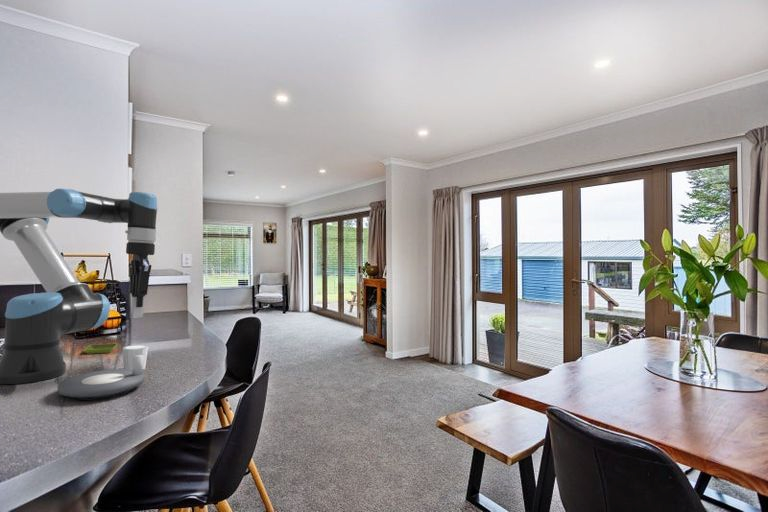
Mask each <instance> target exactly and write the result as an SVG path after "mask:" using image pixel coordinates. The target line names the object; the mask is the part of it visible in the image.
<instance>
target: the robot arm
mask: <svg viewBox="0 0 768 512" xmlns="http://www.w3.org/2000/svg"><path fill="white" fill-rule="evenodd" d="M157 213H158V198H157V196H156V195H155V194H154V193H153V194H152V193H147V192H142V191H140V192H139V191H132V192H130V193H129V194H128V198H127V199H125V198H114V197H113V198H112V197H107V196H102V195H98V194H93V193H92V194H91V193H87V192H82V191H78V190H74V189H70V188H68V189H67V188H56V189H54V190H52V191H35V192H34V191H32V192H31V191H26V192H25V191H24V192H23V191H22V192H18V191H17V192H0V233H1V235H2V236H3V238H5V240H8V241H13V242H14V244H15V245H16V247H17V248H18V250H19V251H20V253H21V255H22V256H23V258H24V260H25V261H26V262H27V264H28V266H29V267H30V269H31V270H32V272H33V273H34V275H35V276H36V278H37V279H38V281H39V282H40V284H41V286H42V287H43V289H44V290H45V292H39V293H38V292H36V293H35V292H34V293H27V294H23V295H22V294H21V295H18V296H15V297H12V298H10V300H8V302H7V304H6V309H5V313H4V317H5V322H4V323H5V327H4V342H3V343H4V345H3V352H2V354H1V357H0V384H1V385H16V384H18V385H19V384H28V383H34V382H35V383H36V382H40V381H45V380H50V379H53V378H57V377H60V376H62V375H64V374H65V373H66V371H67V363H66V362H65V361H64V357H63V354H62V351H61V347H60V342H61V339H60V338H61V336H62V335H65V334H66V335H67V334H72V333H77V332H83V331H90V330H93V329H96V328H99V327H101V326H102V325H103V324H104V323H106V321H107V320H108V318H109V316H110V311H111V306H110V305H111V303H110V301H109V299H108V297H107V296H106V295H105V294H102V293H99V292H95V293H94V292H93V290H92V289H91V287H90V285H88V284H87V283H84V282H81V281H79V279H78V278H77V276H76V275H75V273H74V271H72V269H71V267H70V266H69V264H68V262H67V261H66V259H65V258H64V256H63V255H62V254H61V252H60V250H59V249H58V247H57V246H56V244H55V243H54V241H53V240H52V239H51V237H50V235H49V234H48V232H47V231H46V230H47V229H48V225H49V221H50V218H51V219H52V218H53V219H54V218H56V219H59V218H60V219H61V218H62V219H66V218H67V219H69V218H70V219H84V220H85V219H86V220H91V221H92V220H93V221H97V222H101V223H107V224H113V223H114V224H115V223H118V224H120V223H121V224H122V223H123V224H127V225H126V226H127V230H125V232H124V233H125V234H126V240H127V241H129V242H126V244H125V245H126V249H125V254H127V255H132V259H131V261H130V263H128V270H129V294H130V295H131V310H130V311H131V313H130V318H132V319H137V318H139V319H140V318H144V304H145V296H147V295H148V292H149V291H148V290H149V283H150V274H151V271H152V270H151V269H152V264H150V261H149V256H154V255H155V251H156V250H155V249H156V248H155V247H156V246H155V242H156V237H157V234H156V233H157V229H156V226H157V225H156V224H157Z"/></svg>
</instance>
